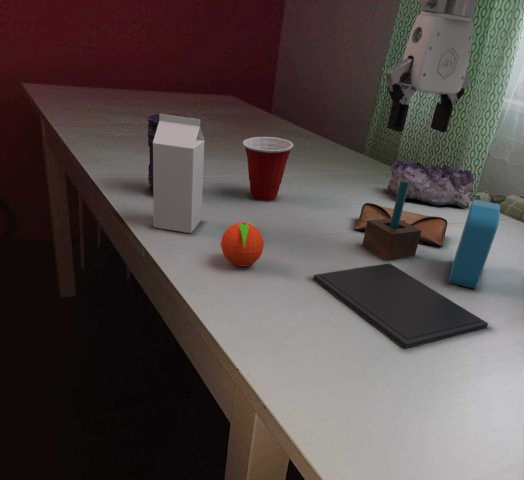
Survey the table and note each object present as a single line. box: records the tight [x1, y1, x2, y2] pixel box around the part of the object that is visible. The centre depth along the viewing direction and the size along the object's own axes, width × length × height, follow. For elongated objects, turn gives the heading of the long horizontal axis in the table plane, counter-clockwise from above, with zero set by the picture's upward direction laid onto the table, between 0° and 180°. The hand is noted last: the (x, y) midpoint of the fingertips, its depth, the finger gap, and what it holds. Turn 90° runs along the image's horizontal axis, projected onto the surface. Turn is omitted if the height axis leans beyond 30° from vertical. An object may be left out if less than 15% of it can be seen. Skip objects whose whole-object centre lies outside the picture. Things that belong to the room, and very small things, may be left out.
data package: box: [448, 199, 501, 290], centre depth 91 cm, size 12×4×12 cm, turn 158°
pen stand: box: [361, 218, 421, 261], centre depth 99 cm, size 7×7×5 cm
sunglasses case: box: [354, 202, 448, 247], centre depth 109 cm, size 18×7×7 cm
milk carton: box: [152, 113, 206, 234], centre depth 96 cm, size 7×7×19 cm
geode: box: [386, 160, 475, 209], centre depth 130 cm, size 20×12×10 cm, turn 80°
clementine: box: [220, 221, 265, 267], centre depth 86 cm, size 8×7×7 cm
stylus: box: [390, 180, 409, 229], centre depth 97 cm, size 2×2×13 cm
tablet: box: [313, 262, 489, 349], centre depth 82 cm, size 16×22×1 cm
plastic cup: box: [242, 136, 294, 202], centre depth 118 cm, size 11×11×12 cm
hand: (416, 130), depth 88 cm, fingers open, 9 cm apart
